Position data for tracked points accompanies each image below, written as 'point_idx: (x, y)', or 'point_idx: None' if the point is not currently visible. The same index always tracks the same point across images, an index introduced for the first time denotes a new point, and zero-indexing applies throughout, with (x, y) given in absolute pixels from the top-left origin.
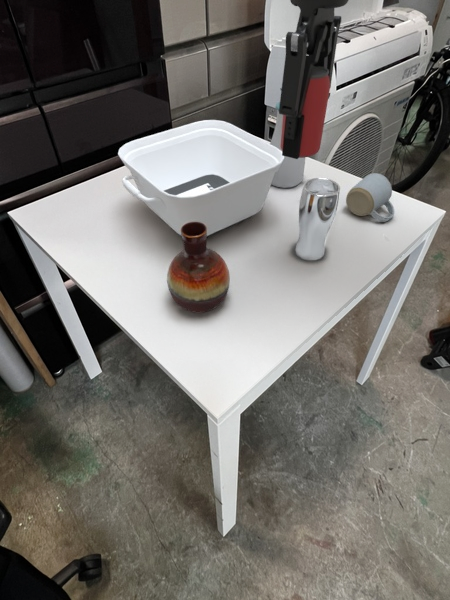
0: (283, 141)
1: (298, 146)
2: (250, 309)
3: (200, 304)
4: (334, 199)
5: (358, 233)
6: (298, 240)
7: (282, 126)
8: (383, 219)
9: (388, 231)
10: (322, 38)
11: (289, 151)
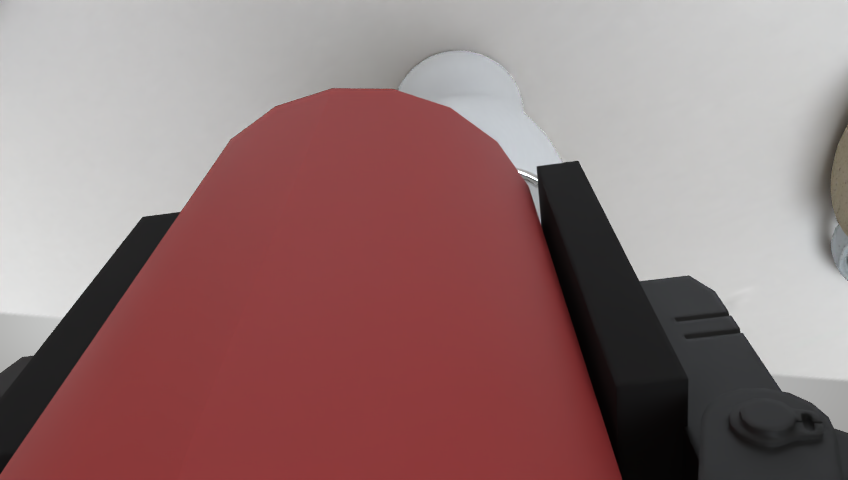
0: (98, 276)
1: None
2: (13, 123)
3: None
4: None
5: (702, 212)
6: (422, 86)
7: (175, 221)
8: (837, 267)
9: (780, 296)
10: None
11: None
